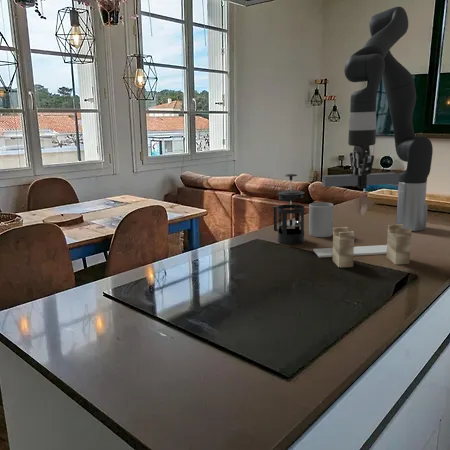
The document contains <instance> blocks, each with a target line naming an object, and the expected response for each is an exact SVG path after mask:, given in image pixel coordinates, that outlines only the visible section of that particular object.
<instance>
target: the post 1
mask: <svg viewBox="0 0 450 450" xmlns="http://www.w3.org/2000/svg"><path fill="white" fill-rule="evenodd" d="M354 247H355V231H353V230H352V231H349V227H348V226H339V227H337V226H336V227H333V235H332V248H333V257H332V262H333V264H335V265H336V266H337V267H338V268H339V267H340V268H353V267H354V256H353V255H354Z"/></svg>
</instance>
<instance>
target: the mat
mask: <svg viewBox="0 0 450 450" xmlns="http://www.w3.org/2000/svg"><path fill="white" fill-rule="evenodd" d="M312 249H313V250H312V251H313V252H314V253H315V255H317V257H318V258H333V247H325V248H312ZM386 253H387V244H382V245H381V244H380V245H363V246H354V255H353V257H358V256H370V255H371V256H372V255H373V256H374V255H386Z"/></svg>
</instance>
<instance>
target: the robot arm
mask: <svg viewBox="0 0 450 450" xmlns="http://www.w3.org/2000/svg"><path fill="white" fill-rule="evenodd" d="M368 24H369V25H368V27H369V32H370V38H368V39H367V41H366V42H365V44H364V45H363V47H362V48H360V49H359V50H357V51H356V52H354V53H353V54H351V56H349V58H347V61H346V63H345V65H344V76H345V78H346V80H347V81H349V82H351V83H361V82H363V83H364V82H368V83H367V85H366V87H365V88H362V89H359V90H355V91H354V92H352V93H351V95H350V106H349V107H350V108H349V110H350V111H349V112H350V113H349V119H348V137H347V138H348V142H347V144H348V145H349V146H353V151H352V152H350V153H349V159H350V171H351V172H353V173H352V174H359V183H358V186H354V187H355V188H358V189H360V190H366V189H367V186H368V185H367V176H368V174H371V173H372V169H373V165H374V160H375V155H371V150H370V149H371V148H370V146H375V144H376V138H377V137H376V135H377V97H378V91H379V87H380V84H381V80H382V81H383V88H384V91H385V96H386V101H387V104H388V107H389V114H390V118H391V123H392V128H393V136H394V147H395V152H396V155H397V157H398V158H399V160H401V161H403V162H406V169H405V170H404V171H403V172H401V173H399V184H398V190H397V207H396V222H395V224H402V225H403V229H407V228H410V229H412V230H411V232H420V231H423V230H427V219H428V218H427V217H428V206H429V204H428V203H427V202H426V201H427V200H426V197H427V184H428V177H429V176H430V173H431V169H432V168H431V167H432V160H433V153H434V151H433V148H434V147H433V143H432V141H431V140H430V139H429V138H428V137H426V136H422V135H421V136H420V135H416V134H415V129H414V125H413V124H414V123H413V115H414V111H415V107H416V102H417V91H416V87H415V82H414V81H415V80H414V78H413V75H412V74H411V72H410V71H409V70H408V69H407V68H406V67H405V66H404V65H403V64H402V63H400V61H398V60H397V58H395V57H394V56H393V54H392V52H391V48H392V47H393V46H394V45H395V44H396V43H397V42H398V41H399V40H400V39H401V38H402V37H403V36H404V35H406V33H407V31H408V29H409V18H408V14H407V12H406V10H405V8H404V7H403V6H394V7H392V8H389V9H386V10H384V11H382V12H379V13H377V14H374V15H372V16H371V17H370V19H369V23H368Z"/></svg>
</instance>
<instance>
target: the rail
mask: <svg viewBox="0 0 450 450" xmlns="http://www.w3.org/2000/svg"><path fill="white" fill-rule="evenodd" d="M399 175H400V173H398V172H393V171H392V172H375V173H372V172H371V174H368V176H367V186H374V185H375V186H376V185H379V186H380V185H399ZM321 177H322V179H321V183H322V185H321V186H322V187H324V188H334V187H351V186H352V187H355V186H358V183H359V174H353V173H350V174H347V173H346V174H330V175H329V174H328V175H322V176H321Z"/></svg>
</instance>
